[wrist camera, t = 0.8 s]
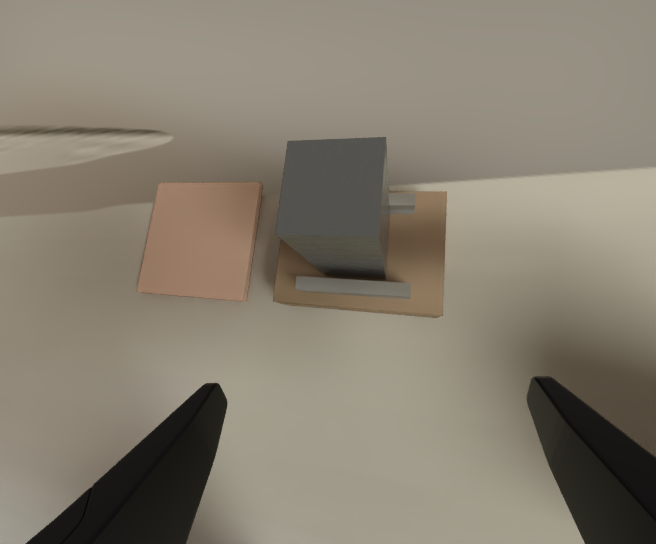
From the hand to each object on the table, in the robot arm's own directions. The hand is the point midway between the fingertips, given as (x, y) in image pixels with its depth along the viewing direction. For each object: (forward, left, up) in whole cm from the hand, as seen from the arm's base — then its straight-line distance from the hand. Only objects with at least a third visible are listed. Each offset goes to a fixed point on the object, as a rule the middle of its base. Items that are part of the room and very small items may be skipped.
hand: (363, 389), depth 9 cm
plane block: (+7, +2, -13) cm, 15 cm away
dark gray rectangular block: (+7, +2, -10) cm, 13 cm away
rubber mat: (+8, +16, -13) cm, 22 cm away
